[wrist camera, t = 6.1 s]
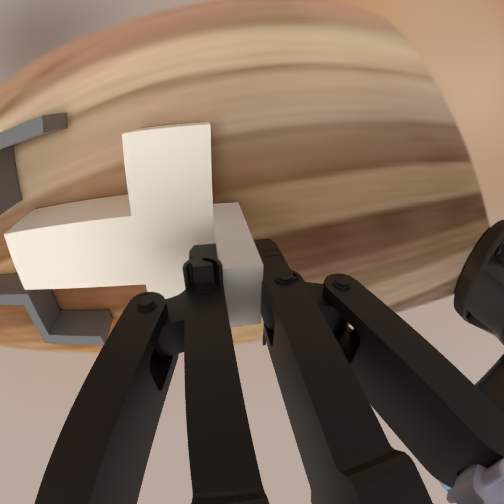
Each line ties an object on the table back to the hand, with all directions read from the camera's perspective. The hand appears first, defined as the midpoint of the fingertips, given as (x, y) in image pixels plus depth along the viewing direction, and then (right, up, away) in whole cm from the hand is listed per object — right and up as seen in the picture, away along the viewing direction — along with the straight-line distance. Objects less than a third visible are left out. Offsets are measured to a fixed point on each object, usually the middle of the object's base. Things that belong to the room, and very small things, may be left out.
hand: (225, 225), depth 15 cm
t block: (-7, 0, +1) cm, 7 cm away
